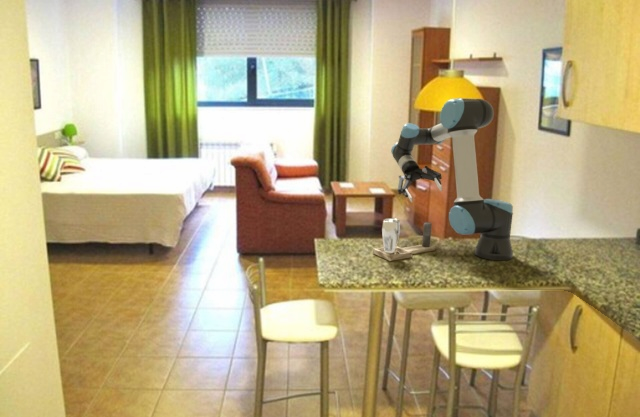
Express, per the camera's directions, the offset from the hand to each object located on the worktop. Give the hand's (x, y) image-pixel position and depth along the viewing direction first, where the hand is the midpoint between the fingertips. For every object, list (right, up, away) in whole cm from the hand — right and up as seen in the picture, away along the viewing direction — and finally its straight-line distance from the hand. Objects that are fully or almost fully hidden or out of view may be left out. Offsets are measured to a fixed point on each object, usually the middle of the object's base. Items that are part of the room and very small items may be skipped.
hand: (426, 194), depth 257 cm
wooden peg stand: (-10, -24, -9) cm, 28 cm away
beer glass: (-17, -26, -14) cm, 34 cm away
